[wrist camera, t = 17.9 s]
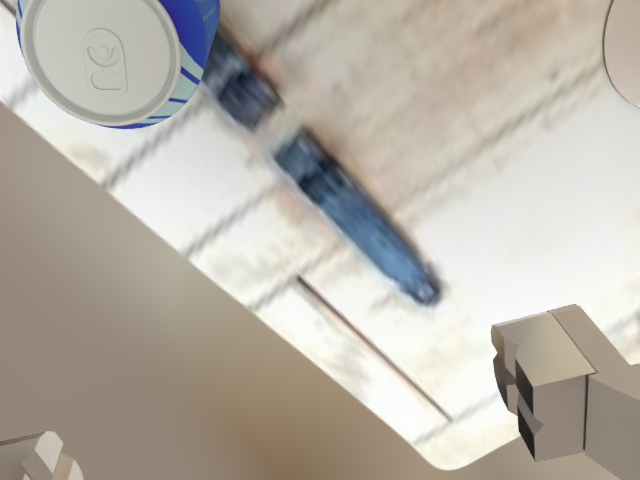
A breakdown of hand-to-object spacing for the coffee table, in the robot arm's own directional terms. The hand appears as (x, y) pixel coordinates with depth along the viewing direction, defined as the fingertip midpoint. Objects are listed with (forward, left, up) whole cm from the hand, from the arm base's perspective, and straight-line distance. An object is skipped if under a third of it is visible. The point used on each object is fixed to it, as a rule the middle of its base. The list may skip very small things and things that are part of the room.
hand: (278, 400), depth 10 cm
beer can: (+6, -4, -34) cm, 35 cm away
